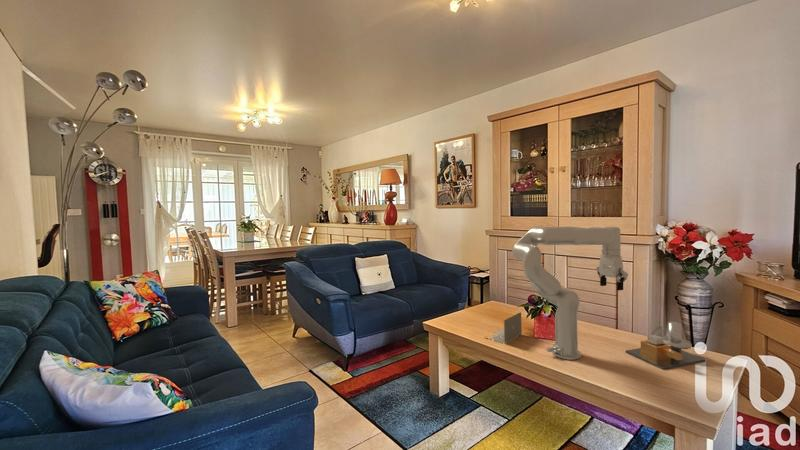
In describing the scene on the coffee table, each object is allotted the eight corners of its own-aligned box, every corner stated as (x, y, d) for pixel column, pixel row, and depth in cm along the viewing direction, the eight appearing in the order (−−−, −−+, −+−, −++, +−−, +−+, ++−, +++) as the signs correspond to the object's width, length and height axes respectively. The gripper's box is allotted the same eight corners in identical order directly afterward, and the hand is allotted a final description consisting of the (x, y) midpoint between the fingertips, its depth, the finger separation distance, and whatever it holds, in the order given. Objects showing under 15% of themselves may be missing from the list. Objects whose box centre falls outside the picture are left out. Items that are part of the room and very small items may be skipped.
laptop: (501, 329, 202) (501, 307, 201) (521, 335, 193) (521, 312, 192) (484, 338, 189) (483, 315, 189) (505, 345, 180) (504, 320, 180)
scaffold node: (666, 371, 146) (666, 336, 145) (625, 352, 165) (625, 321, 164) (710, 363, 151) (710, 329, 151) (665, 345, 171) (665, 315, 170)
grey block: (656, 358, 156) (656, 339, 155) (647, 355, 159) (647, 335, 159) (663, 357, 157) (663, 337, 156) (654, 353, 160) (654, 334, 160)
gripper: (590, 251, 174) (591, 284, 175) (620, 255, 157) (620, 292, 158) (603, 250, 176) (603, 283, 177) (633, 254, 159) (633, 291, 160)
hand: (611, 287), depth 168 cm, fingers open, 9 cm apart
